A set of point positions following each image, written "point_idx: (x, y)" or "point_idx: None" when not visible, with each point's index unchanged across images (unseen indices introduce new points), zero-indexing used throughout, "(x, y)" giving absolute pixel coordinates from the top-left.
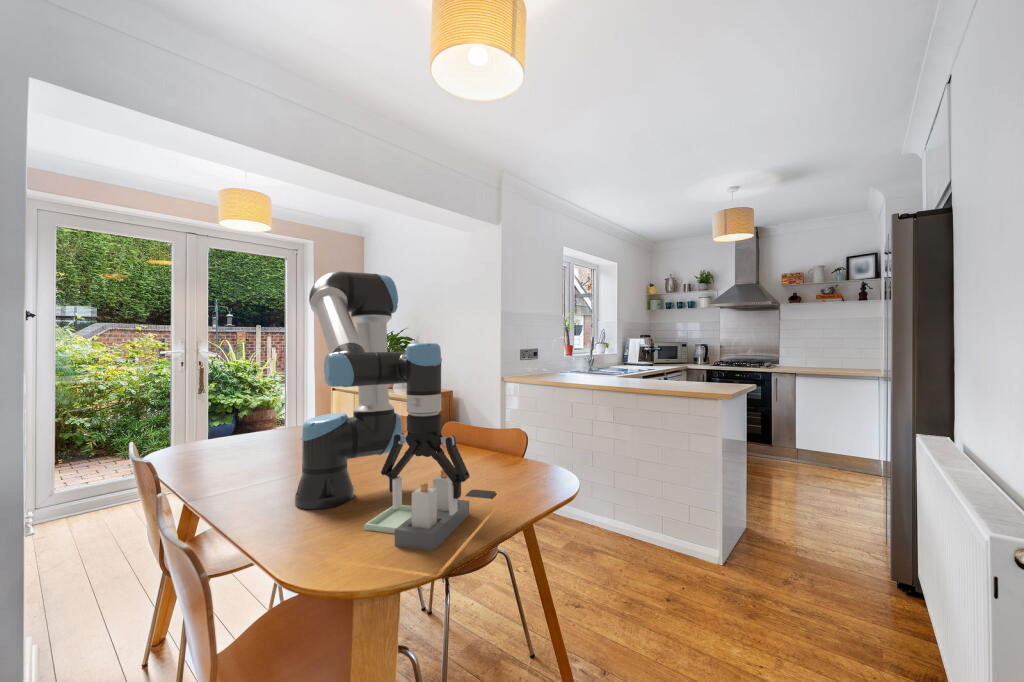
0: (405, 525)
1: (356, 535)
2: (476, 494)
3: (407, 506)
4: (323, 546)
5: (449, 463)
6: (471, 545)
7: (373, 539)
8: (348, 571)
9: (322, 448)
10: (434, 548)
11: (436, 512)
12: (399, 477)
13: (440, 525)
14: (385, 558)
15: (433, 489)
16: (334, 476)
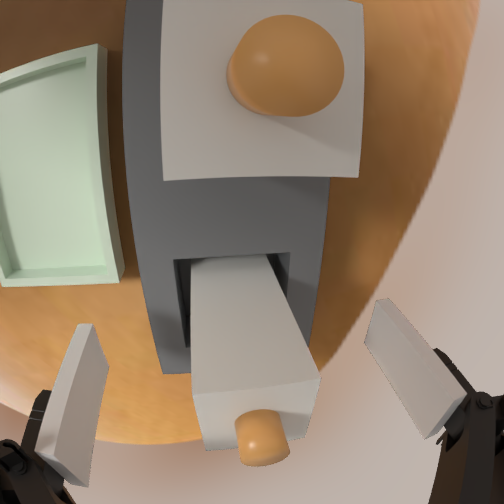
0: (175, 344)
1: (14, 296)
2: None
3: (14, 77)
4: (14, 356)
5: (477, 502)
6: (377, 247)
7: (68, 304)
8: (149, 414)
9: None
10: None
11: (281, 292)
12: (67, 468)
13: (307, 306)
14: None
15: (306, 393)
16: None
